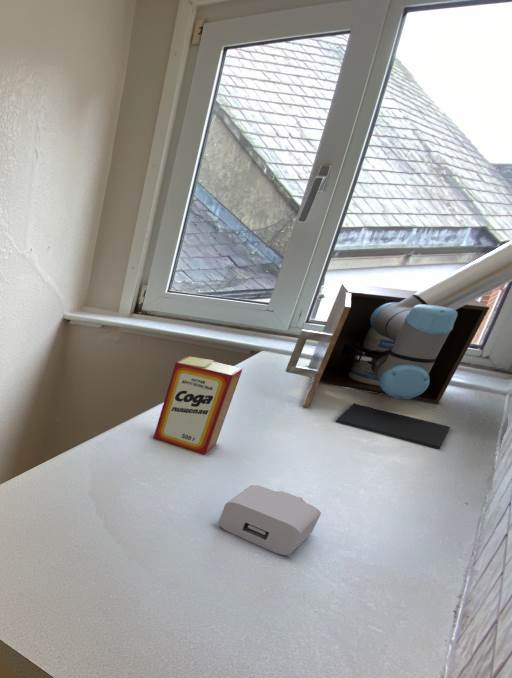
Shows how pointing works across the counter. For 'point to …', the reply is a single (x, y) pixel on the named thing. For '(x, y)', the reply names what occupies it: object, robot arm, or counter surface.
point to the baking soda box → (197, 403)
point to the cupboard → (359, 325)
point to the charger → (269, 518)
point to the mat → (395, 425)
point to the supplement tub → (363, 369)
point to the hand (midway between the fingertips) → (380, 348)
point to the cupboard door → (325, 354)
